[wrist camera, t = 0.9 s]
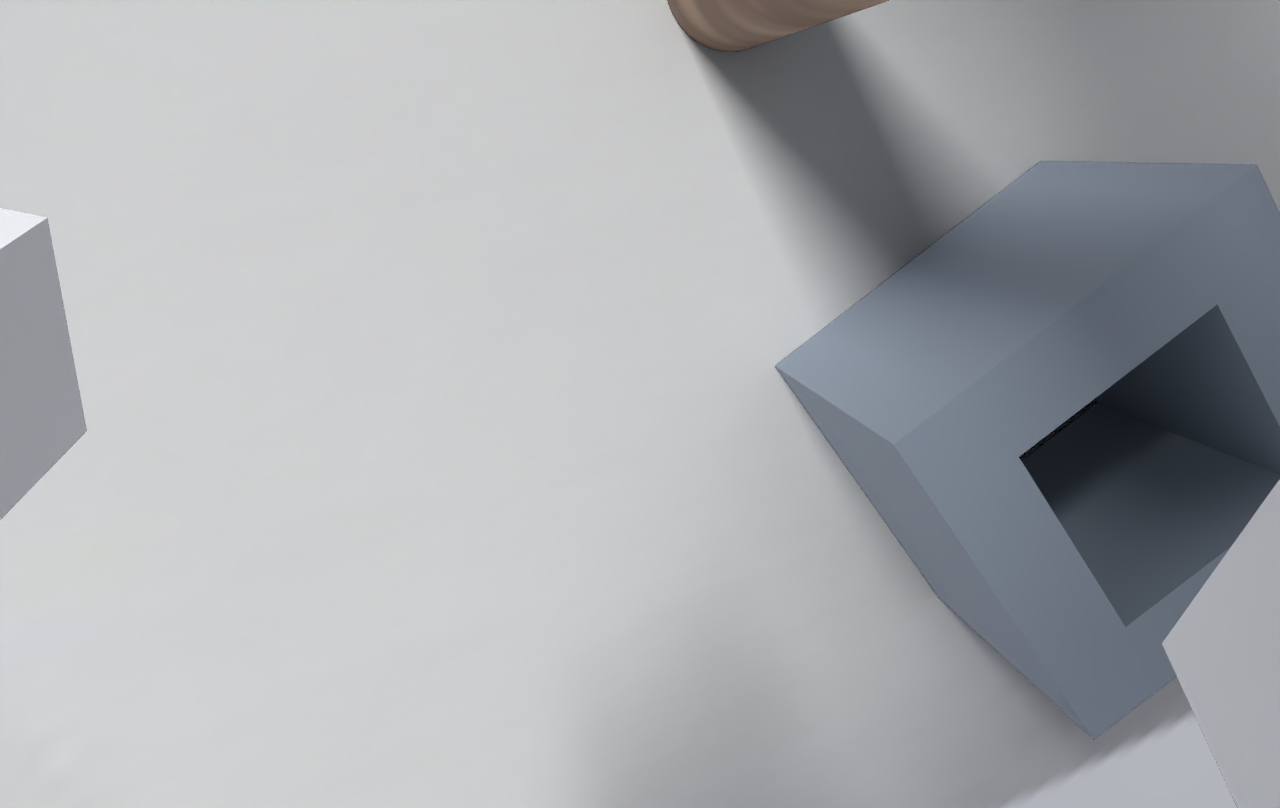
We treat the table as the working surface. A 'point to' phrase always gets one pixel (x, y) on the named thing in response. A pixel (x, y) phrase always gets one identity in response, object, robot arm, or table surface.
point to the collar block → (1069, 411)
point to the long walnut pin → (756, 19)
